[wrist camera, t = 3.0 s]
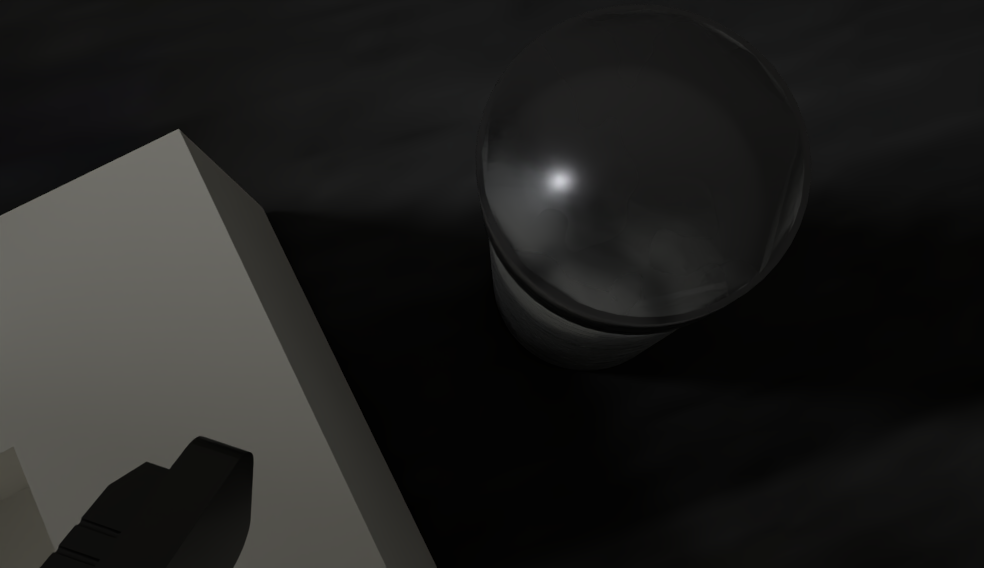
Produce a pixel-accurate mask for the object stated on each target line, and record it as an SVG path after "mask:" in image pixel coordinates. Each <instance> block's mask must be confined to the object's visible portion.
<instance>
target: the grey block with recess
mask: <svg viewBox="0 0 984 568" xmlns="http://www.w3.org/2000/svg"><path fill="white" fill-rule="evenodd" d="M198 436H204V437H207V438H210V439H213V440H216V441H219V442H222V443H225V444H228V445H231V446H234V447H237V448H240V449H243V450H246V451H249V452H251V453H252V454H253V458H254V466H253V485H252V505H251V521H250V527H249V531H248V535H247V538H246V541H245V544H244V547H243V549H242V551H241V554H240V556H239V558H238V560H237V562H236V564H235V566H234V567H233V568H437V567H436V565H435V562H434V560H433V558H432V556H431V554H430V552H429V550H428V548H427V546H426V544H425V542H424V540H423V538H422V536H421V534H420V532H419V529H418V527H417V525H416V523H415V521H414V519H413V517H412V515H411V513H410V511H409V509H408V507H407V505H406V503H405V501H404V499H403V496H402V494H401V492H400V490H399V488H398V486H397V484H396V482H395V480H394V478H393V476H392V474H391V472H390V470H389V468H388V466H387V463H386V461H385V459H384V457H383V455H382V453H381V451H380V449H379V447H378V445H377V443H376V441H375V439H374V437H373V435H372V432H371V430H370V428H369V426H368V424H367V422H366V420H365V418H364V416H363V414H362V412H361V410H360V408H359V406H358V404H357V402H356V399H355V397H354V395H353V393H352V391H351V389H350V387H349V385H348V383H347V381H346V379H345V377H344V375H343V373H342V371H341V369H340V366H339V364H338V362H337V360H336V358H335V356H334V354H333V352H332V350H331V348H330V346H329V344H328V342H327V340H326V338H325V336H324V333H323V331H322V329H321V327H320V325H319V323H318V321H317V319H316V317H315V315H314V313H313V311H312V309H311V307H310V305H309V303H308V300H307V298H306V296H305V294H304V292H303V290H302V288H301V286H300V284H299V282H298V280H297V278H296V276H295V274H294V272H293V270H292V267H291V265H290V263H289V261H288V259H287V257H286V255H285V253H284V251H283V249H282V247H281V245H280V243H279V241H278V239H277V237H276V234H275V232H274V230H273V228H272V226H271V224H270V222H269V220H268V218H267V216H266V214H265V212H264V210H263V208H262V207H261V206H260V205H259V204H258V203H257V202H256V201H255V200H254V199H253V198H252V197H251V196H250V195H249V194H248V193H246V192H245V191H244V190H243V189H242V188H241V187H240V186H239V185H238V184H237V183H236V182H235V181H234V180H233V179H232V178H231V177H229V176H228V175H227V174H226V173H225V172H224V171H223V170H222V169H221V168H220V167H219V166H218V165H217V164H216V163H215V162H214V161H212V160H211V159H210V158H209V157H208V156H207V155H206V154H205V153H204V152H203V151H202V150H201V149H200V148H199V147H198V146H197V145H195V144H194V143H193V142H192V141H191V140H190V139H189V138H188V137H187V136H186V135H185V134H184V133H183V132H182V131H181V130H180V129H177V130H175V131H173V132H171V133H169V134H167V135H165V136H163V137H161V138H159V139H157V140H155V141H153V142H151V143H149V144H147V145H145V146H143V147H140V148H138V149H136V150H134V151H132V152H130V153H128V154H126V155H124V156H122V157H120V158H118V159H116V160H114V161H112V162H110V163H108V164H106V165H103V166H101V167H99V168H97V169H95V170H93V171H91V172H89V173H87V174H85V175H83V176H81V177H79V178H77V179H75V180H73V181H71V182H69V183H67V184H64V185H62V186H60V187H58V188H56V189H54V190H52V191H50V192H48V193H46V194H44V195H42V196H40V197H38V198H36V199H34V200H32V201H30V202H27V203H25V204H23V205H21V206H19V207H17V208H15V209H13V210H11V211H9V212H7V213H5V214H3V215H1V216H0V568H40V567H41V566H42V564H43V563H44V562H45V561H46V560H47V558H48V557H49V556H50V555H51V554H52V552H54V553H55V552H56V551H57V549H58V547H59V544H60V543H61V542H62V540H63V539H64V538H65V537H66V536H67V534H68V533H69V532H70V531H71V530H72V528H73V527H74V526H75V525H78V524H79V523H80V521H81V518H82V516H83V515H84V514H85V513H86V512H87V510H88V509H89V508H90V507H91V506H92V504H93V503H94V502H95V501H96V500H97V498H98V497H99V496H100V495H101V494H102V492H103V491H104V490H105V489H106V488H107V486H108V485H109V484H111V483H113V482H114V481H116V480H118V479H119V478H121V477H122V476H124V475H126V474H127V473H129V472H130V471H132V470H134V469H135V468H137V467H138V466H140V465H142V464H143V463H145V462H150V463H153V464H156V465H158V466H161V467H164V468H167V469H170V468H171V466H172V465H173V464H174V462H175V461H176V460H177V459H178V457H179V456H180V455H181V453H182V452H183V451H184V449H185V448H186V447H187V446H188V444H189V443H190V442H191V441H192V440H193V439H195V438H196V437H198Z"/></svg>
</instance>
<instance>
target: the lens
mask: <svg viewBox="0 0 984 568" xmlns="http://www.w3.org/2000/svg"><path fill="white" fill-rule="evenodd" d="M476 177H477V185H478V193H479V201H480V207H481V214H482V219H483V222H484V226H485V229H486V232H487V236H488V238H489V246H490V256H491V267H492V277H493V288H494V294H495V300H496V303H497V307H498V310H499V312H500V315H501V317H502V319H503V321H504V323H505V325H506V326H507V328H508V330H509V331H510V333H511V334H512V335H513V336H514V337H515V339H516V340H517V341H518V342H519V343H520V344H521V345H522V346H523V347H524V348H525V349H526V350H528V351H529V352H531V353H532V354H533V355H535V356H536V357H538V358H540V359H542V360H544V361H545V362H547V363H550V364H553V365H555V366H558V367H562V368H566V369H570V370H579V371H594V370H601V369H607V368H610V367H613V366H617V365H619V364H622V363H624V362H626V361H628V360H630V359H632V358H633V357H635V356H637V355H638V354H640V353H641V352H643V351H644V350H646V349H648V348H649V347H651V346H652V345H654V344H655V343H657V342H658V341H660V340H662V339H663V338H665V337H666V336H668V335H669V334H671V333H672V332H674V331H676V330H677V329H679V328H682V327H686V326H689V325H691V324H693V323H695V322H698V321H700V320H702V319H704V318H706V317H708V316H710V315H711V314H713V313H715V312H716V311H718V310H719V309H721V308H723V307H724V306H726V305H728V304H729V303H731V302H733V301H734V300H736V299H737V298H739V297H741V296H742V295H744V294H745V293H747V292H748V291H749V290H751V289H752V288H753V287H754V286H755V285H757V284H758V283H759V282H760V281H762V280H763V279H764V278H765V277H766V276H767V275H768V273H769V272H770V271H771V270H772V269H773V268H774V267H775V266H776V265H777V264H778V262H779V261H780V260H781V258H782V257H783V255H784V254H785V252H786V251H787V249H788V248H789V246H790V245H791V243H792V241H793V239H794V237H795V235H796V233H797V231H798V229H799V227H800V224H801V221H802V218H803V215H804V212H805V209H806V206H807V201H808V196H809V190H810V184H811V156H810V145H809V140H808V136H807V131H806V127H805V123H804V120H803V118H802V115H801V112H800V110H799V107H798V105H797V102H796V100H795V99H794V97H793V95H792V93H791V91H790V89H789V88H788V86H787V84H786V83H785V81H784V80H783V79H782V77H781V76H780V74H779V73H778V72H777V70H776V69H775V67H774V66H773V65H772V64H771V63H770V62H769V61H768V60H767V59H766V58H765V57H764V56H763V55H762V54H761V53H760V52H759V51H758V50H757V49H756V48H755V47H753V46H752V45H751V44H750V43H749V42H747V41H746V40H745V39H744V38H742V37H741V36H739V35H738V34H736V33H735V32H733V31H731V30H730V29H728V28H727V27H725V26H723V25H721V24H719V23H717V22H715V21H713V20H711V19H708V18H706V17H704V16H701V15H698V14H695V13H692V12H689V11H686V10H681V9H676V8H672V7H667V6H658V5H647V4H636V5H619V6H612V7H606V8H601V9H597V10H593V11H590V12H586V13H583V14H580V15H578V16H575V17H573V18H571V19H568V20H566V21H563V22H562V23H560V24H558V25H556V26H555V27H553V28H551V29H549V30H548V31H546V32H544V33H543V34H542V35H540V36H539V37H538V38H536V39H535V40H534V41H533V42H531V43H530V44H529V45H528V46H527V47H526V48H525V49H524V50H522V51H521V52H520V53H519V54H518V55H517V56H516V57H515V58H514V60H513V61H512V62H511V63H510V65H509V66H508V67H507V69H506V70H505V71H504V72H503V74H502V75H501V77H500V78H499V80H498V82H497V84H496V85H495V87H494V89H493V90H492V92H491V94H490V97H489V99H488V102H487V104H486V106H485V109H484V111H483V115H482V119H481V123H480V126H479V130H478V137H477V145H476Z"/></svg>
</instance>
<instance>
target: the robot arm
mask: <svg viewBox="0 0 984 568" xmlns="http://www.w3.org/2000/svg"><path fill="white" fill-rule="evenodd" d="M253 466H254V458H253V454H252V453H251V452H249V451H246V450H243V449H240V448H237V447H234V446H231V445H228V444H225V443H222V442H219V441H216V440H213V439H210V438H207V437H204V436H198V437H196V438H195V439H193V440H192V441H191V442H190V443H189V444H188V446H187V447H186V448H185V449H184V451H183V452H182V453H181V455H180V456H179V457H178V459H177V460H176V461H175V462H174V464H173V465H172V466H171V468H170V469H167V468H164V467H161V466H158V465H156V464H153V463H150V462H145V463H143V464H142V465H140V466H138V467H137V468H135V469H134V470H132V471H130V472H129V473H127V474H126V475H124V476H122V477H121V478H119V479H118V480H116V481H114V482H113V483H111V484H109V485H108V486H107V488H106V489H105V490H104V491H103V492H102V494H101V495H100V496H99V497H98V498H97V500H96V501H95V502H94V503H93V504H92V506H91V507H90V508H89V509H88V510H87V512H86V513H85V514H84V515H83V516H82V518H81V521H80V523H79V524H78V525H75V526H74V527H73V528H72V530H71V531H70V532H69V533H68V534H67V536H66V537H65V538H64V539H63V540H62V542H61V543H60V544H59V547H58V549H57V551H56V552H55V553H54V552H52V554H51V555H50V556H49V557H48V558H47V560H46V561H45V562H44V563H43V564H42V566H41V567H40V568H233V567H234V566H235V564H236V562H237V560H238V558H239V556H240V554H241V551H242V549H243V547H244V544H245V541H246V538H247V535H248V531H249V527H250V521H251V505H252V485H253Z"/></svg>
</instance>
